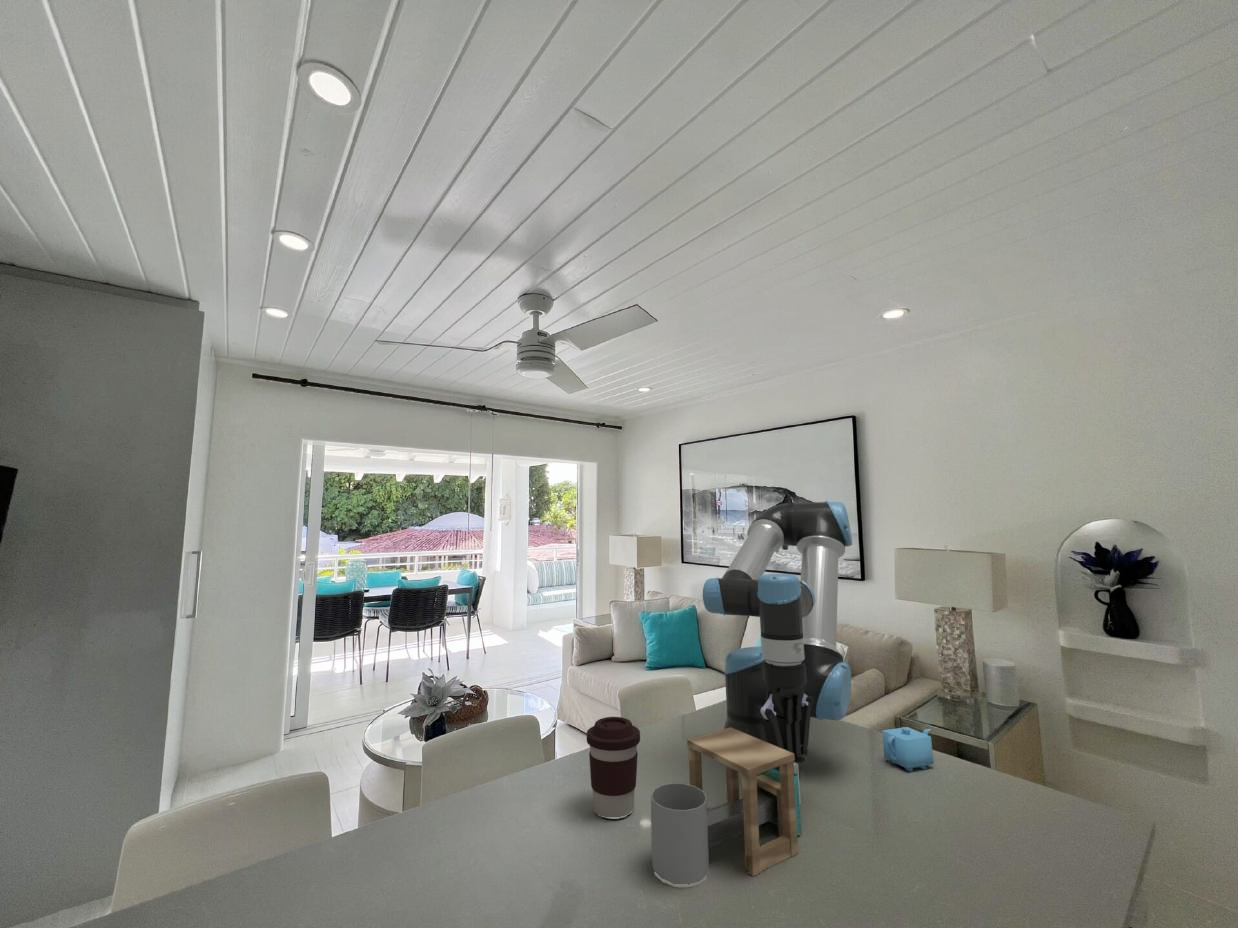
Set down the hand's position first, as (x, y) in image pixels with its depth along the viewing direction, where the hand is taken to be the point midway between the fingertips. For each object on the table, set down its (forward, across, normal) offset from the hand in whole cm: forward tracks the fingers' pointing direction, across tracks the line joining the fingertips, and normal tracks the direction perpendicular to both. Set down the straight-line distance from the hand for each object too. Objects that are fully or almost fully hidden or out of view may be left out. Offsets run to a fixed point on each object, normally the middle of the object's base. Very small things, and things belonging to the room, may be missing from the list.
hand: (792, 800), depth 89 cm
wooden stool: (+3, -11, 0) cm, 11 cm away
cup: (+3, -25, +1) cm, 25 cm away
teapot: (+4, +40, 0) cm, 40 cm away
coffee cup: (+3, -24, +20) cm, 32 cm away
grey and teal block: (+2, -12, 0) cm, 12 cm away
